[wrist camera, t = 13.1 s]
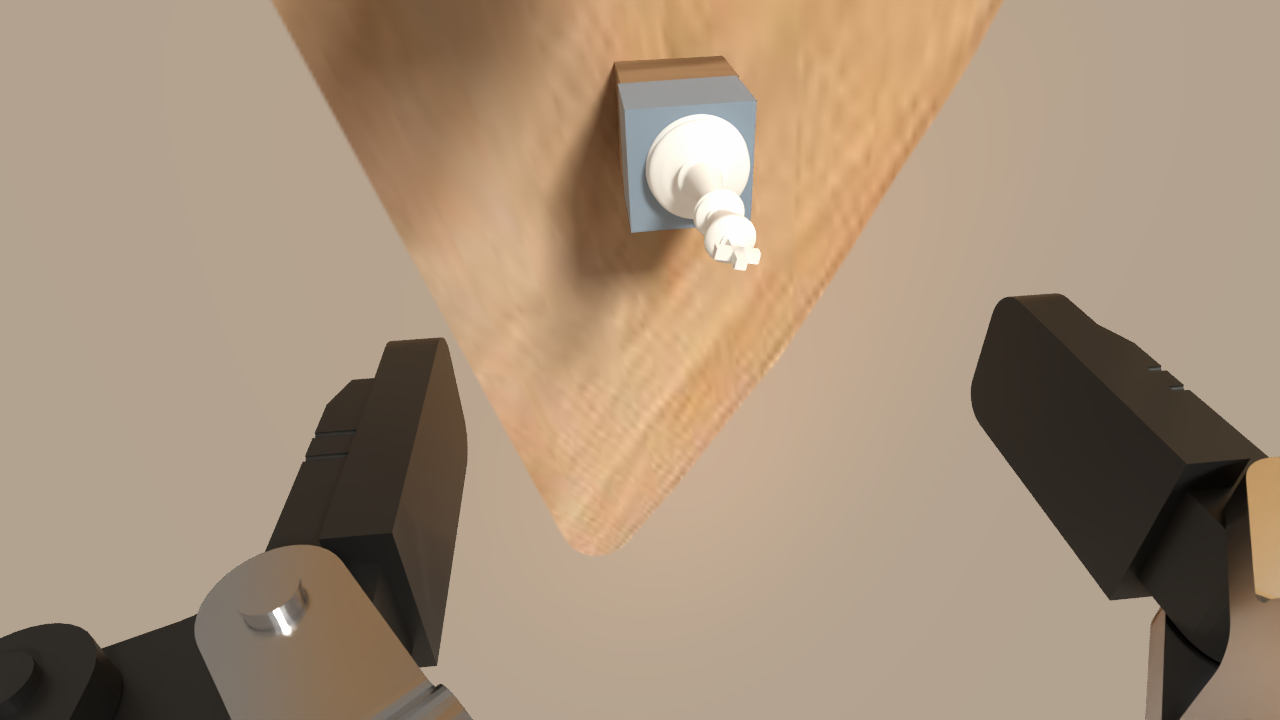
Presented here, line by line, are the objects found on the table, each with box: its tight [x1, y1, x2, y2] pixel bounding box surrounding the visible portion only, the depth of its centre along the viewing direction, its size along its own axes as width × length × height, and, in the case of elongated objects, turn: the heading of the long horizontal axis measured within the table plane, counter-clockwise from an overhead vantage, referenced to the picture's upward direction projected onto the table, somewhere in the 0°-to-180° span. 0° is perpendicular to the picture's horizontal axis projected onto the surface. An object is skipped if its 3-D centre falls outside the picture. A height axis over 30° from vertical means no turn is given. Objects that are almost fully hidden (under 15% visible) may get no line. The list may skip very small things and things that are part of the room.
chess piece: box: [646, 114, 761, 271], centre depth 30 cm, size 5×5×10 cm
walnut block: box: [615, 56, 739, 187], centre depth 40 cm, size 6×6×4 cm
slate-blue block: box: [618, 75, 757, 233], centre depth 36 cm, size 6×6×4 cm
